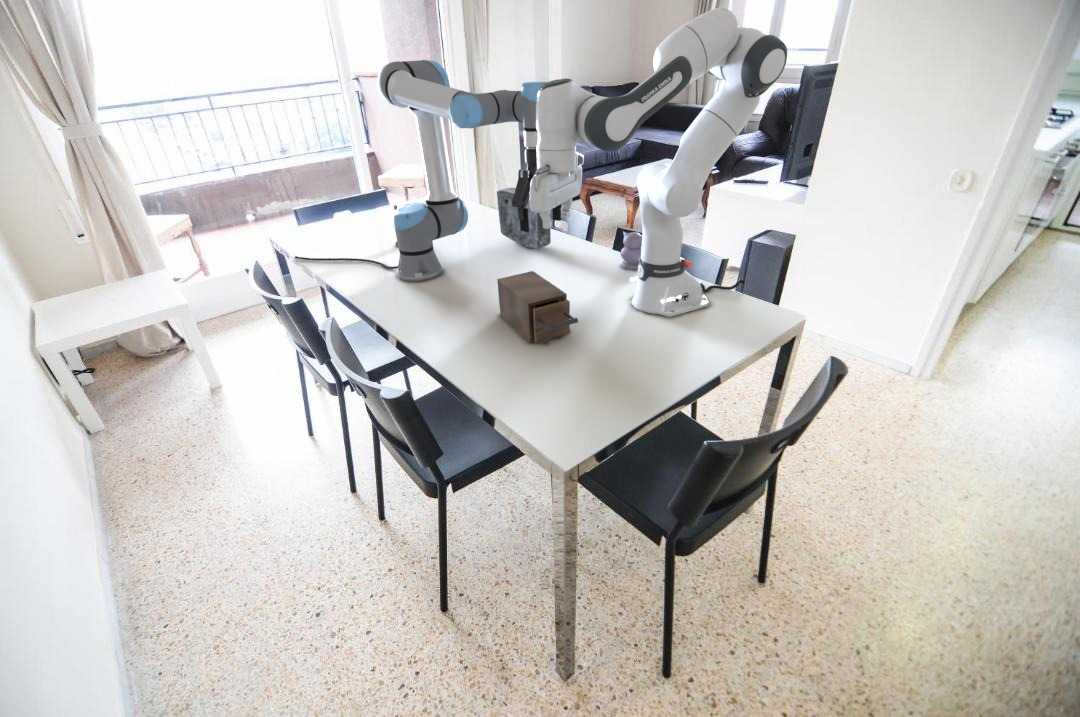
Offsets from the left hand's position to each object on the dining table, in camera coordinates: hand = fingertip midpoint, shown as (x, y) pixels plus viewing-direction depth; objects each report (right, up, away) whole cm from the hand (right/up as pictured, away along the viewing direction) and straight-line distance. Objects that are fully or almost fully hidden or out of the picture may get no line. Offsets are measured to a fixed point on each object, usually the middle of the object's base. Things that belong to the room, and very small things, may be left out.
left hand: (541, 225), depth 145 cm
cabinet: (-3, -29, -4) cm, 29 cm away
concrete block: (-6, +7, +54) cm, 55 cm away
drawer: (0, -31, -9) cm, 32 cm away
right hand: (+4, -6, -26) cm, 27 cm away
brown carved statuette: (-54, +9, +61) cm, 82 cm away
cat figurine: (+32, -6, +30) cm, 45 cm away
